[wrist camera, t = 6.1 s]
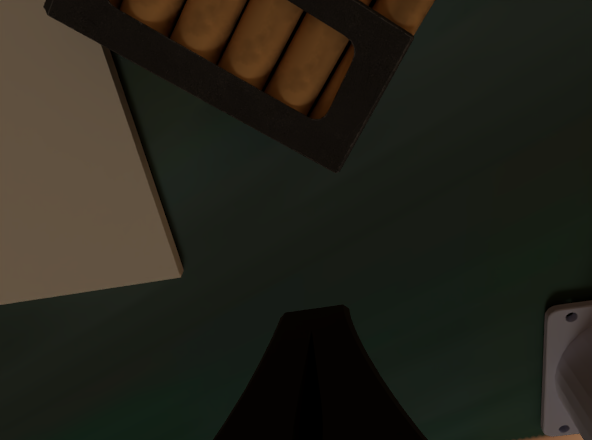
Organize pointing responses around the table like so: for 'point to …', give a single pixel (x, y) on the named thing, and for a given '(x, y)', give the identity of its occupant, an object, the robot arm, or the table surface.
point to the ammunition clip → (264, 58)
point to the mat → (71, 168)
